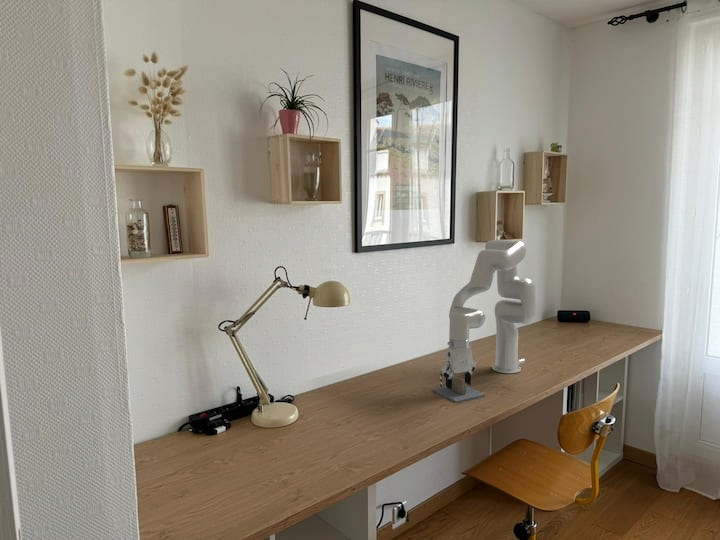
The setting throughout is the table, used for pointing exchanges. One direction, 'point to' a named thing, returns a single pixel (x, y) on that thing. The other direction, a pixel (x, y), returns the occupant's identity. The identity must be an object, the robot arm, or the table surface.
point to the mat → (458, 394)
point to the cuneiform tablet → (456, 384)
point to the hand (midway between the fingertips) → (458, 385)
